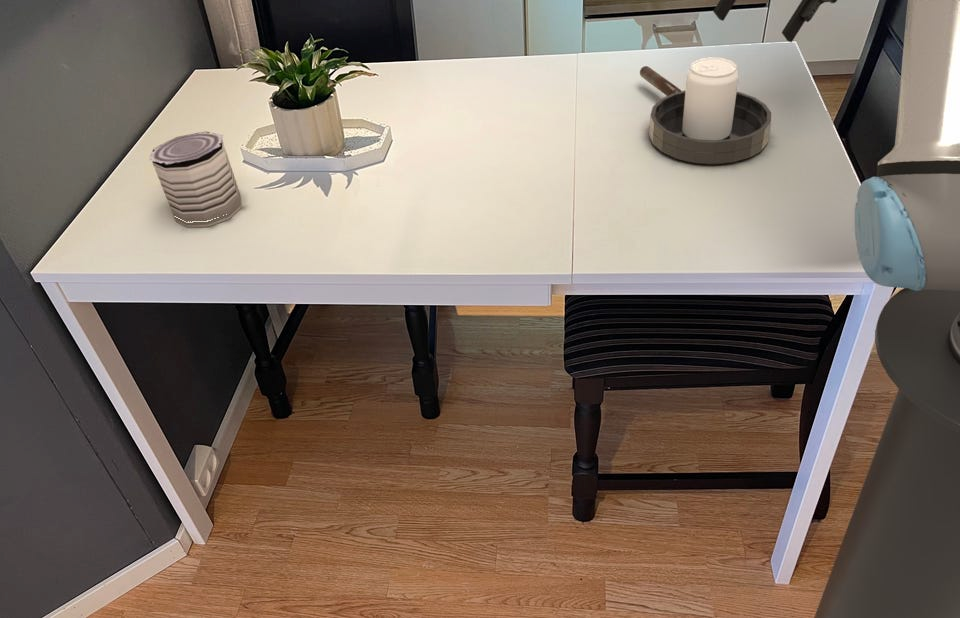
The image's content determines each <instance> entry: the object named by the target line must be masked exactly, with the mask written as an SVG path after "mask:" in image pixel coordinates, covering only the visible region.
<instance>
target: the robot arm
mask: <svg viewBox="0 0 960 618" xmlns="http://www.w3.org/2000/svg"><path fill="white" fill-rule="evenodd" d="M736 1H737V0H719V1H718V3H717V5H716V6H715V8H714V9H713V13H714V15H715V16H716V17H717V18H718V19H719V21H724V20H725V19H726V18H727V16H728V14H729V13H730V11H731V9H732V7H733V6H734V4H735V3H736ZM837 2H838V0H801V1H800V2H799V4H798V6H797V7H796V9H795V10H794V12H793V14H791V17H790V19H789V21H787V23H786V25H785V26H784V28H783V30H782V31H781V34H782V35H783V37H784V38H785V39H786V41H787V42H789V43H792V42H793V41H794V39H795V38H796V36H797V34H798V33H799V32H800V30H801V28H802V27H803V25H804V24H805V22H806V23H809V22H810V21H811V20H812V19H813V17H814V16H815V14H816V13H817V11H818V10H819V8H820V6H821V5H822V4H823V5H824V4H825V3H830V4H836V3H837ZM900 71H901V73H900V82H899V83H900V84H899V93H898V94H899V96H898V104H897V105H898V107H897V118H896V128H895V140H894V146H893V148H892V149H891V150H890V151H889V152H888V153H887V154H886V155H884V156H883V157H882V158H881V159H880V160H879V161H878V162H877V169H876V176H872V177H870V178H867V179H865V180H864V181H862V182H861V184H860V185H859V188H858V189H857V194H856V202H855V204H854V235H855V242H856V244H855V245H856V249H857V253H858V257H859V260H860V263H861V267H862V268H863V270H864V273H865V274H866V276H867V277H868V278H869V279H870V280H871V281H872V282H873V283H875V284H876V285H879V286H882V287H887V288H897V289H898V288H899V289H904V288H909V289H911V290H915V291H920V290H922V289H926V290H950V291H960V0H907V4H906V15H905V27H904V38H903V49H902V60H901V70H900ZM948 343H949V347H950V350H951V352H952V354H953V356H954V357H955V359H956V360H957V361H958V363H959V364H960V313H959V314H958V315H957V317H956V318H955V320H954V322H953V324H952V326H951V329H950V331H949V335H948Z"/></svg>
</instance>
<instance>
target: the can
mask: <svg viewBox="0 0 960 618" xmlns="http://www.w3.org/2000/svg"><path fill="white" fill-rule="evenodd" d="M223 138H224V134H220V133H215V132H211V131H206V130H205V131H199V132H195V133H194V132H193V133H189V134H184V135H179V136H175V137H174V138H172V139H170V140H167V141H165V142H164V143H162V144H160V145H157V146H155V147H153V149H152V151H151V153H150V156H149V158H148V161H150V162H152V165H153V168H154V171H155V173H156V176H157V178H158V180H159V184H160V186H161V187H162V188H161V189H162V190H163V193H164V196H165V198H166V201H167V203H168V205H169V206H168V207H169V208H170V210H171V213H172V216H173V215H174V216H176V217H178V218H180V219H182V220H184V221H186V222H188V221H189V222H190V221H191V222H192V221H207V220H211V219H213V220H211V221H208V222H193V223H186V222H184V221H182V220H180V219H178V218H176V217H174V216H173V218H174V221H175V222H176V223H178V224H180V225H181V226H183V227H185V228H188V229H192V228H193V229H194V228H210V227H213V226H215V225H218V224H220V223H223V222H226V221H228V220H230V219H231V218H232V217H234V216H235V215H236V214H237V213H238V212H239V211H240V210H241V209H242V208H243V205H242V197H241V196H242V195H241V193H240V189H239V186H238V184H237V180H236V178H235V177H236V176H235V174H234V171H233V168H232V166H231V162H230V159H229V156H228V153H227V150H226V147H225V143H224V140H223ZM226 214H227V215H226ZM223 215H224V216H223ZM217 217H219V218H217ZM214 218H216V219H214Z"/></svg>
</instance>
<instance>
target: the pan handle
mask: <svg viewBox="0 0 960 618" xmlns="http://www.w3.org/2000/svg"><path fill="white" fill-rule="evenodd" d="M639 75H640V77H641V78H642V79H644V80H645V81H646V82H648V83H649V84H650V85H652V86H653V87H654V88H656V89H657V90H658V91H660V92H661V93H662V94H664V96H665V97H666V96H669V95H671V94H673V93H677V92H681V91H682V90H681V88H679V87H678V86H676V85H675V84H673V83H672V82H671V81H669V80H668V79H666V77H664V76H662V75H661V74H659V73H658V71H656V70H654V69H652V68H651V67H649V66H648V65H646V66H642V67H640V69H639Z"/></svg>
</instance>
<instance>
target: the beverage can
mask: <svg viewBox="0 0 960 618" xmlns="http://www.w3.org/2000/svg"><path fill="white" fill-rule="evenodd" d="M737 67H738V65H737V64H736V62H734V61H732V60H730V59H727V58H724V57H714V56H712V57H711V56H709V57H703V58H700V59H697V60H694V61H692V63H691V64H690V68H689V69H688V71H687V73H686V80H685V81H686V82H685V90H686V91H685V90H684V91H685V103H684V114H683V125H682V131H683V133H684V135H685V136H687V137H689V138H694V139H700V140H723V139H725V138H727V137H728V136H729V135H730V133H731V130H732V122H733V115H734V107H735V100H736V92H738V85H739V77H740V75H739V71H738V69H737Z"/></svg>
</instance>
